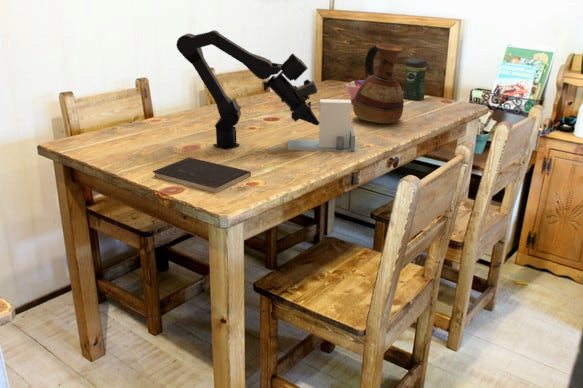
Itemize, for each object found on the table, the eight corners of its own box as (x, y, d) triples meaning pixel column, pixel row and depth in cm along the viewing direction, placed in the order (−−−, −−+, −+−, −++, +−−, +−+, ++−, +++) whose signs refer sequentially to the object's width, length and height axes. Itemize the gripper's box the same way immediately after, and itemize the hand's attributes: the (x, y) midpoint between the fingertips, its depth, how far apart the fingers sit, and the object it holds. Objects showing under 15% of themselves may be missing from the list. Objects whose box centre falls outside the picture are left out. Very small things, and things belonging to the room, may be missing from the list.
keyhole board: (287, 152, 179) (287, 134, 177) (289, 142, 191) (289, 125, 188) (355, 154, 179) (356, 136, 177) (352, 143, 190) (353, 126, 188)
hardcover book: (215, 195, 146) (215, 187, 145) (153, 178, 157) (152, 171, 157) (251, 178, 159) (250, 170, 158) (190, 163, 170) (190, 156, 169)
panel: (318, 146, 182) (320, 102, 177) (318, 143, 186) (320, 99, 181) (349, 147, 182) (351, 102, 176) (348, 143, 186) (350, 99, 181)
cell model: (338, 99, 257) (339, 74, 253) (377, 96, 262) (379, 72, 258) (353, 107, 242) (354, 81, 238) (394, 104, 247) (396, 79, 243)
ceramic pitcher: (379, 130, 207) (385, 48, 195) (341, 119, 221) (345, 42, 210) (412, 122, 218) (419, 44, 207) (375, 112, 233) (379, 39, 221)
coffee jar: (426, 99, 259) (430, 58, 252) (417, 101, 253) (421, 60, 247) (409, 95, 265) (412, 56, 258) (399, 98, 260) (403, 58, 253)
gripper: (302, 78, 167) (337, 114, 171) (303, 68, 184) (335, 101, 188) (276, 103, 170) (311, 138, 174) (280, 91, 187) (311, 123, 191)
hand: (318, 124), depth 182 cm, fingers closed
